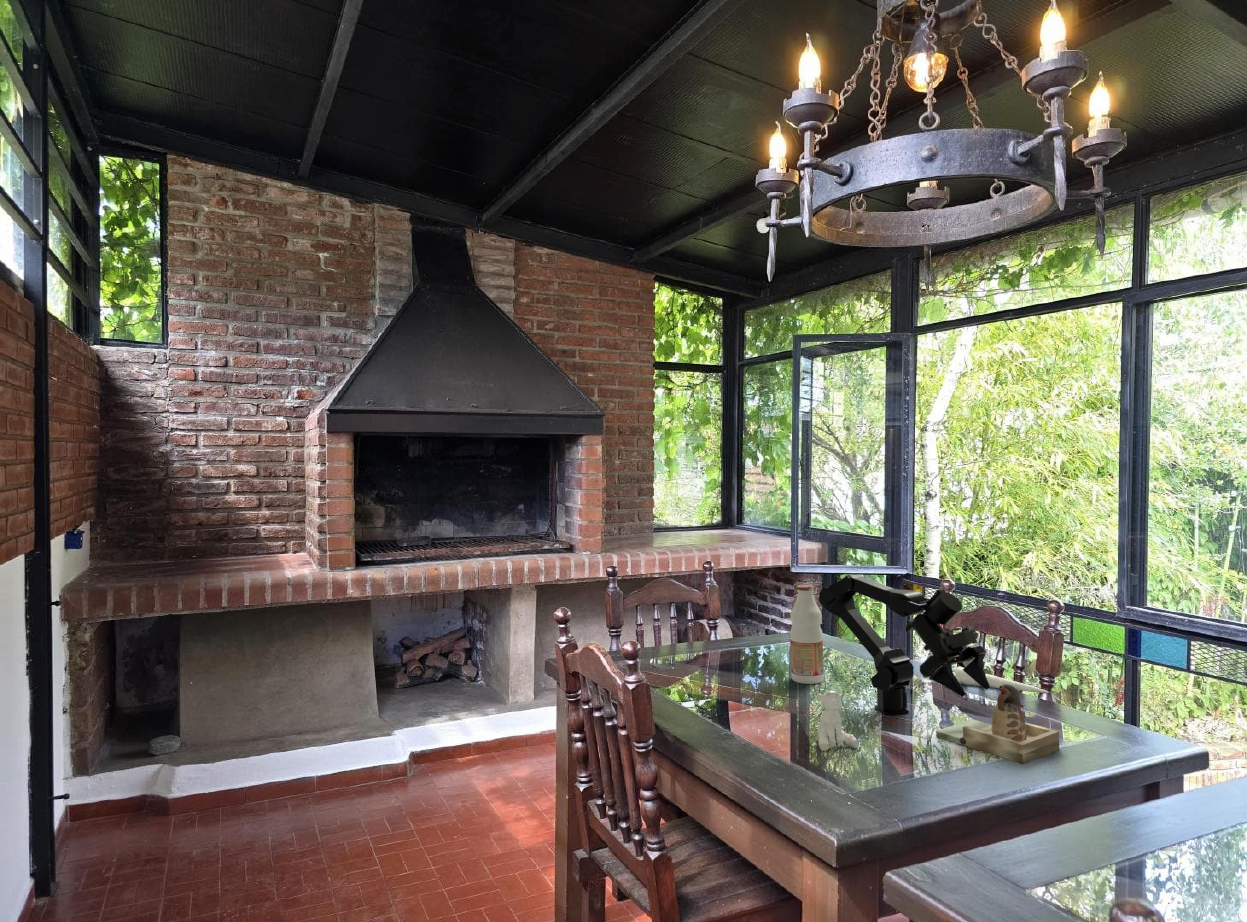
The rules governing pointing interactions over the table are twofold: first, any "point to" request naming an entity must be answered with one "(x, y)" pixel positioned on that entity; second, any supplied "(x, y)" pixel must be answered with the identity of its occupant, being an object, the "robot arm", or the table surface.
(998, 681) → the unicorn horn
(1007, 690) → the figurine
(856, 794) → the table surface
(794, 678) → the fruit juice
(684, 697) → the table surface
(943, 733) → the shallow wooden tray
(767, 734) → the table surface
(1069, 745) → the table surface
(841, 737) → the beige lumpy upright piece
